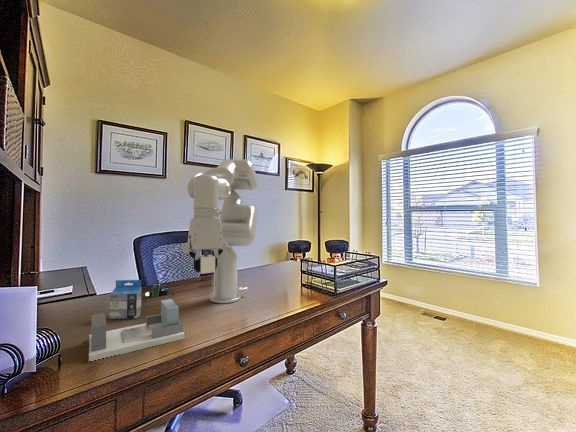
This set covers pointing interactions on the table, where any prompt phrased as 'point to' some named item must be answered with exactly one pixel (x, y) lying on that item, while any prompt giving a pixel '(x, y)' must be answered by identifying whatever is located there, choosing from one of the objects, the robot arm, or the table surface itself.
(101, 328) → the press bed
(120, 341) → the base
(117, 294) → the label tape box
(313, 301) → the table surface
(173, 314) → the block
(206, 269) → the block
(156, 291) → the dark green piece
